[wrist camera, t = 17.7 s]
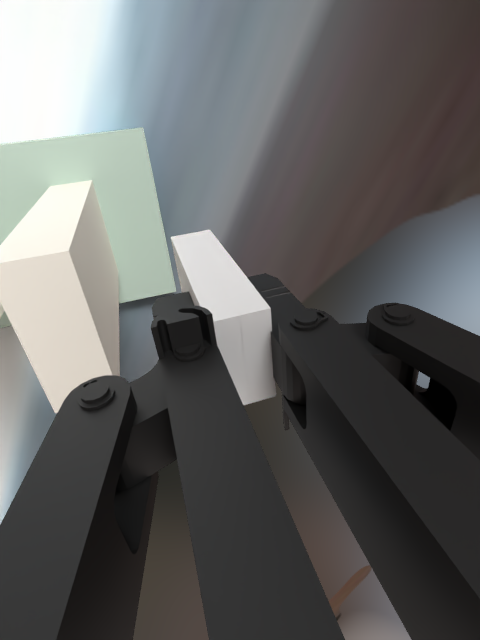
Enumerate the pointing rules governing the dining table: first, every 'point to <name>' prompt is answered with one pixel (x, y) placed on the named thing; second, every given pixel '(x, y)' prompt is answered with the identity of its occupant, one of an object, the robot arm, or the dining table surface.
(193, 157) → the dining table surface
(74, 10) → the dining table surface
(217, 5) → the dining table surface
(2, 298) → the domino
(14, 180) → the board
